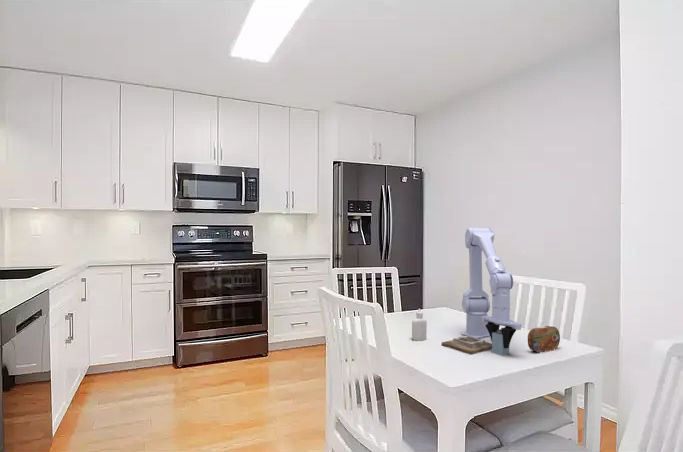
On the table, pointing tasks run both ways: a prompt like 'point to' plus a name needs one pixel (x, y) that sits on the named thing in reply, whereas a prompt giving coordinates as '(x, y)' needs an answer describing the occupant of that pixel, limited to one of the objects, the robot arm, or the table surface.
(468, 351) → the dock
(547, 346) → the tin
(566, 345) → the table surface
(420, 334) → the eye dropper bottle
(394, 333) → the table surface
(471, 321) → the robot arm
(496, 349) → the peg
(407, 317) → the table surface
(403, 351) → the table surface
